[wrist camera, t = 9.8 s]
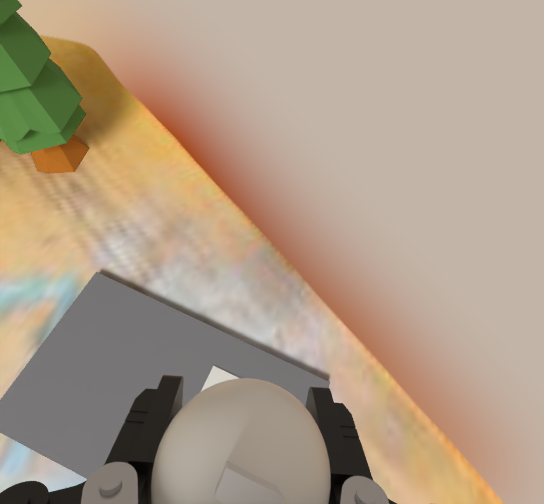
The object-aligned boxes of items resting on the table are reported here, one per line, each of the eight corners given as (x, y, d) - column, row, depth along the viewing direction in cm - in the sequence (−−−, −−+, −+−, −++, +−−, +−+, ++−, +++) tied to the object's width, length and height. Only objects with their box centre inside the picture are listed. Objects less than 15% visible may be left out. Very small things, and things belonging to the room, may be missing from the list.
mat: (-13, 423, 27) (-18, 423, 26) (98, 274, 33) (96, 271, 32) (265, 570, 25) (266, 574, 24) (328, 382, 31) (330, 382, 30)
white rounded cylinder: (167, 478, 16) (48, 596, 5) (216, 378, 18) (197, 325, 8) (261, 527, 15) (326, 754, 5) (300, 419, 17) (402, 422, 7)
